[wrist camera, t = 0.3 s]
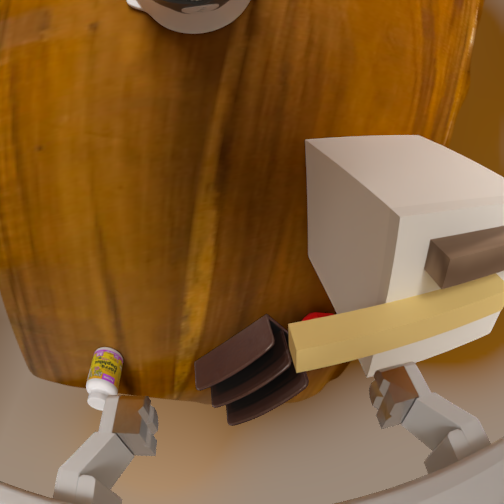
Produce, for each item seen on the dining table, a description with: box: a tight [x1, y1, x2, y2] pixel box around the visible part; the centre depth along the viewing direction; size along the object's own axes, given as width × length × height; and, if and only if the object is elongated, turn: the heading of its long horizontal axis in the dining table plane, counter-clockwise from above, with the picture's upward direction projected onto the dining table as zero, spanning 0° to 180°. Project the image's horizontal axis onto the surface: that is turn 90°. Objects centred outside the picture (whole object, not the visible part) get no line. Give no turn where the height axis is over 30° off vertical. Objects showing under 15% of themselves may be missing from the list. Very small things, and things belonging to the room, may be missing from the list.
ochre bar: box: [288, 273, 504, 373], centre depth 26 cm, size 3×24×3 cm, turn 96°
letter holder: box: [194, 314, 309, 426], centre depth 60 cm, size 10×20×14 cm, turn 130°
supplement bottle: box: [86, 347, 123, 411], centre depth 56 cm, size 7×7×13 cm
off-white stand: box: [305, 135, 504, 378], centre depth 39 cm, size 20×20×26 cm
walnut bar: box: [424, 226, 504, 289], centre depth 24 cm, size 3×14×3 cm, turn 96°
